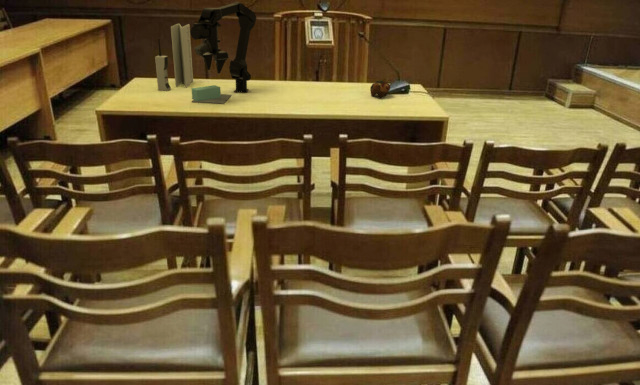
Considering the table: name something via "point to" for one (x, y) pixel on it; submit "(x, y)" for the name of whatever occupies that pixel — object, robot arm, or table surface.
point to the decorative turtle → (380, 88)
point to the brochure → (182, 54)
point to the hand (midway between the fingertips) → (213, 71)
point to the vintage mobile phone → (162, 71)
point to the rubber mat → (215, 100)
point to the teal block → (206, 93)
